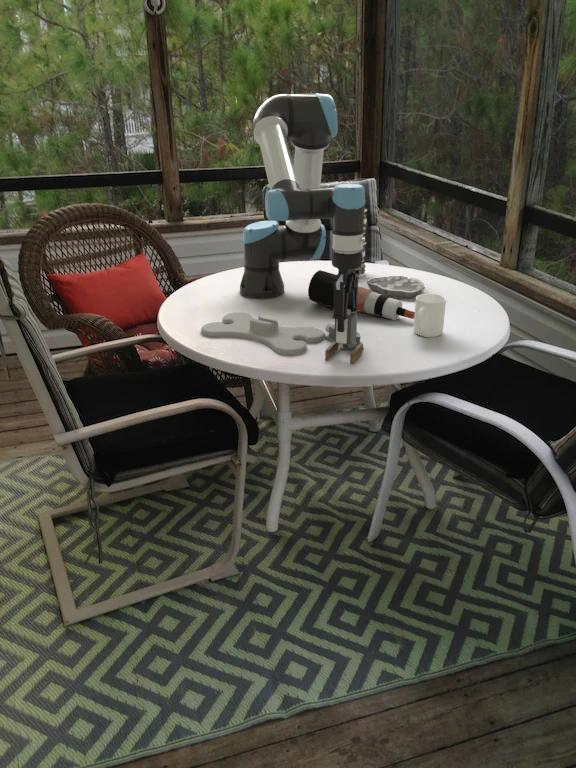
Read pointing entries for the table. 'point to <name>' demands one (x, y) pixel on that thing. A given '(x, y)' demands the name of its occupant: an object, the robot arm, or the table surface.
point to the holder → (264, 332)
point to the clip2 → (353, 345)
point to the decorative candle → (362, 268)
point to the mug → (429, 315)
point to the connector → (349, 327)
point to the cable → (366, 302)
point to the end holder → (353, 356)
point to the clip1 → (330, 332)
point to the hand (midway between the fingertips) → (344, 339)
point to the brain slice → (396, 286)
